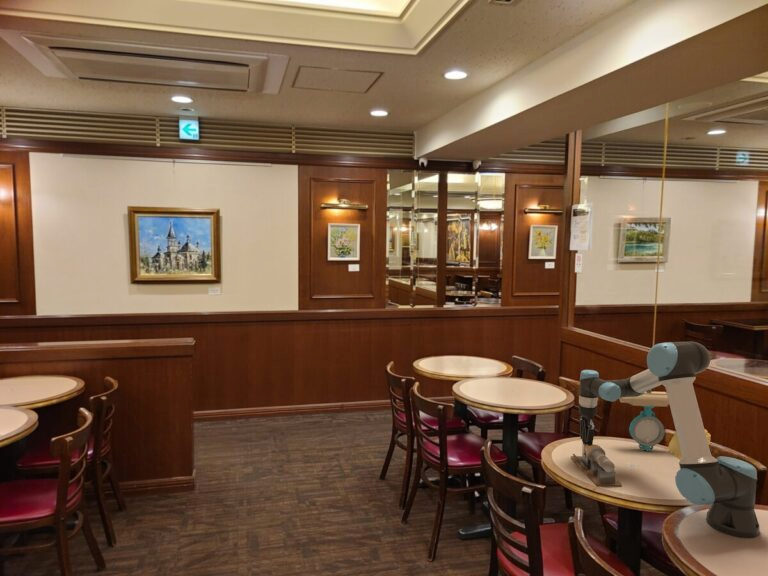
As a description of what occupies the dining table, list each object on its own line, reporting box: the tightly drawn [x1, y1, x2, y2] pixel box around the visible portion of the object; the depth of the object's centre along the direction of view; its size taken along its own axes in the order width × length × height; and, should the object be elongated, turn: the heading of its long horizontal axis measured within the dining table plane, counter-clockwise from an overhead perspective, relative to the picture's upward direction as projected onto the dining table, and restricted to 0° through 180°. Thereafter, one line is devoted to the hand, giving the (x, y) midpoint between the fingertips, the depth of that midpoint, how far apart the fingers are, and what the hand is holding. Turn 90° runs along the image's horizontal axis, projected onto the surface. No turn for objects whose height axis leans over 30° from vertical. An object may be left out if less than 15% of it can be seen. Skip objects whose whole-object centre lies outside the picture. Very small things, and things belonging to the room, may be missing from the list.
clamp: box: [668, 428, 712, 461], centre depth 235 cm, size 20×9×16 cm, turn 177°
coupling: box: [583, 443, 601, 468], centre depth 224 cm, size 6×7×10 cm
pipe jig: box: [570, 445, 623, 488], centre depth 221 cm, size 29×10×12 cm, turn 1°
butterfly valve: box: [618, 388, 670, 452], centre depth 245 cm, size 27×7×30 cm, turn 84°
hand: (585, 457), depth 231 cm, fingers closed
